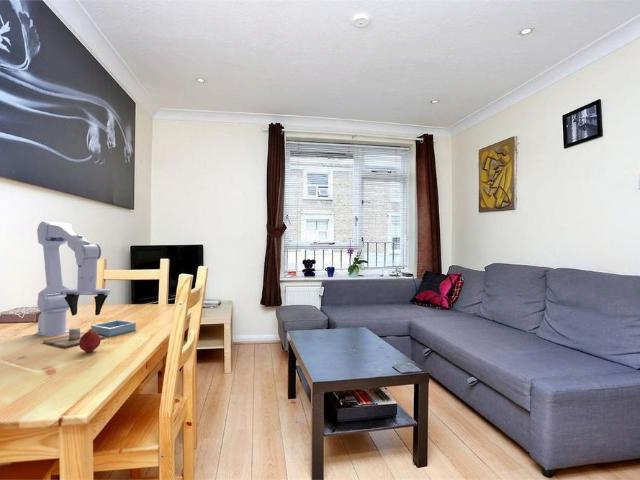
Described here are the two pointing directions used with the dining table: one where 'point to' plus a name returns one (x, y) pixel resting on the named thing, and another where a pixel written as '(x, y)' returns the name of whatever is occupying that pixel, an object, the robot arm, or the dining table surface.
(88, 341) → the onion
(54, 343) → the lid
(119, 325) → the light blue tray
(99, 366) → the dining table surface
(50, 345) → the mat
